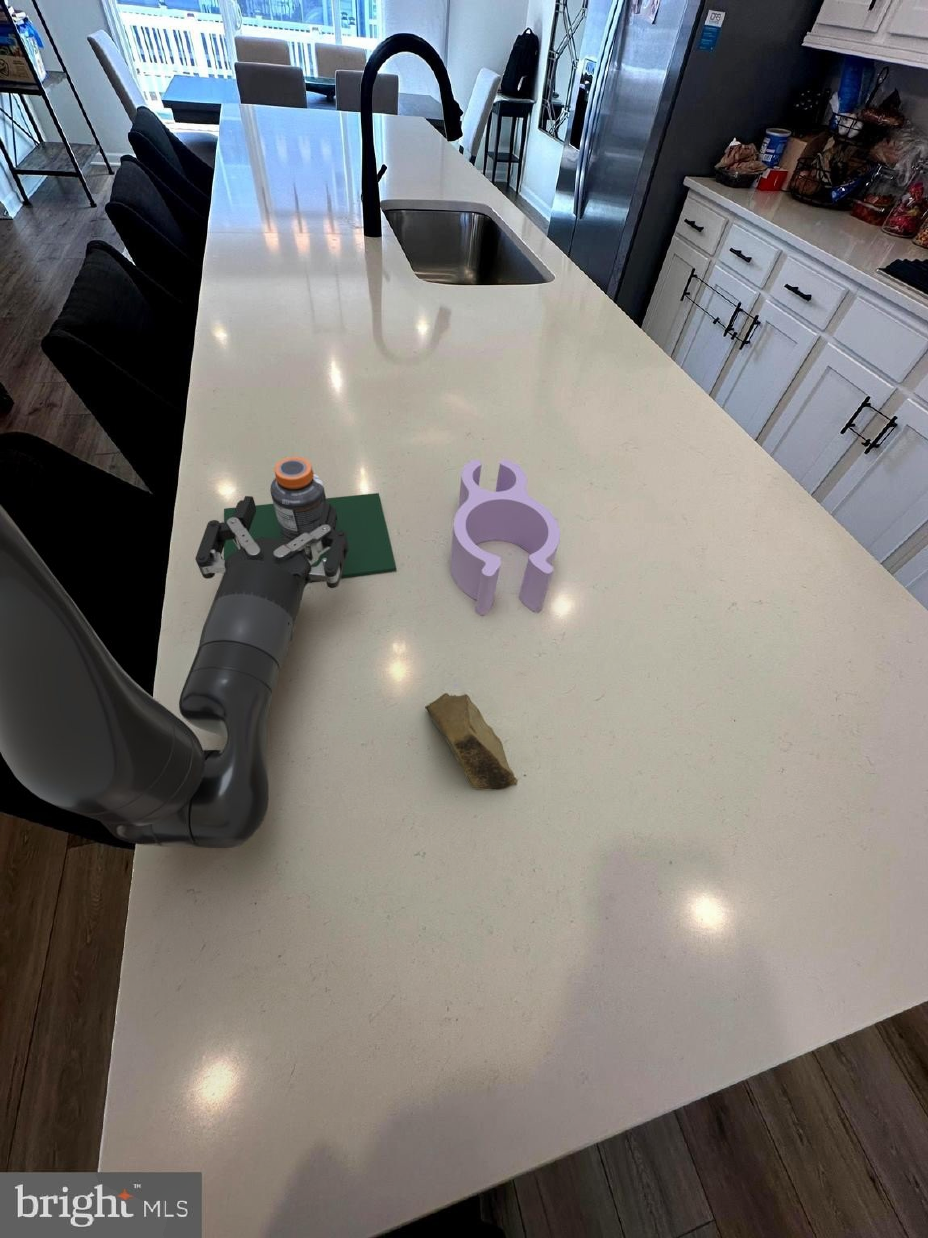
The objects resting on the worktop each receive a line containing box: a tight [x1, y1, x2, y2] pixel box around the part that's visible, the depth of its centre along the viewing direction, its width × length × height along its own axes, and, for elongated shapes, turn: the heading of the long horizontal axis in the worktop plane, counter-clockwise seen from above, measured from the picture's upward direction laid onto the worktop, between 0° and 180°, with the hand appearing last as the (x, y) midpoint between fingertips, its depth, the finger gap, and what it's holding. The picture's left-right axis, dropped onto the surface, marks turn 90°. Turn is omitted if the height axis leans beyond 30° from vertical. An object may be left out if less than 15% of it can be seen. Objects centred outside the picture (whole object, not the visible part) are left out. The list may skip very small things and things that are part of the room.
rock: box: [424, 692, 518, 791], centre depth 53 cm, size 11×9×10 cm
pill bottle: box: [269, 456, 327, 554], centre depth 65 cm, size 6×6×11 cm
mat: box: [223, 492, 397, 583], centre depth 70 cm, size 20×14×1 cm
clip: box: [449, 458, 561, 616], centre depth 69 cm, size 20×12×7 cm, turn 8°
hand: (290, 505), depth 62 cm, fingers open, 8 cm apart
